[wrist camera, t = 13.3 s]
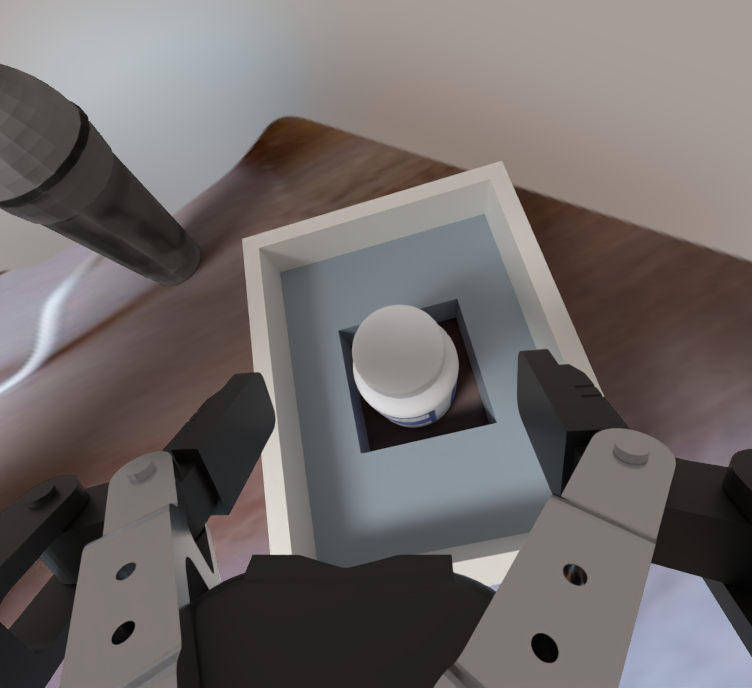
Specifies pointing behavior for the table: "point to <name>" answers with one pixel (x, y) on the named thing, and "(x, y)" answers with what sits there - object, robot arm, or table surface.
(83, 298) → the table surface
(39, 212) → the beverage cup
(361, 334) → the pill bottle
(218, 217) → the table surface
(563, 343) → the bore box
